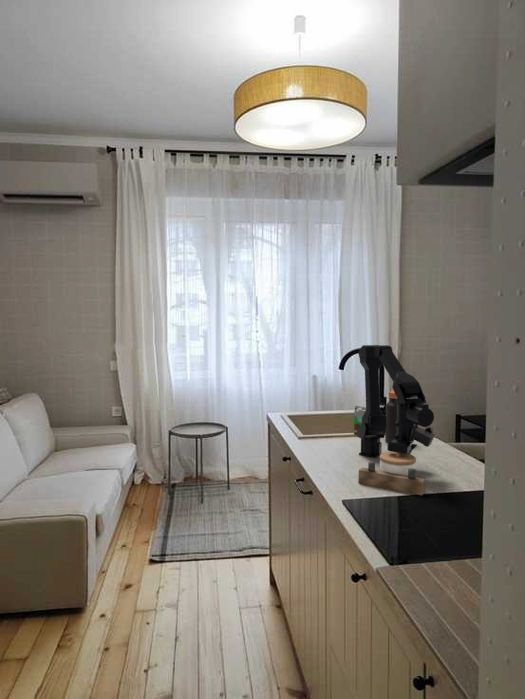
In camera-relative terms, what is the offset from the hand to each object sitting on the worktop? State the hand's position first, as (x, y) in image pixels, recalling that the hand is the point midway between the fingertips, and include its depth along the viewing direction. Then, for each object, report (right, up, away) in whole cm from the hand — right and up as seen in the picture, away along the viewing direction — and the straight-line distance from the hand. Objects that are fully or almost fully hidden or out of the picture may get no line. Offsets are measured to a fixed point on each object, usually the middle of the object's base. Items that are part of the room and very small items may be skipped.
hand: (405, 467), depth 161 cm
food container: (-3, +2, +54) cm, 54 cm away
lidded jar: (-5, -3, -7) cm, 9 cm away
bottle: (+6, +1, +38) cm, 38 cm away
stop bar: (-8, -3, -12) cm, 15 cm away
